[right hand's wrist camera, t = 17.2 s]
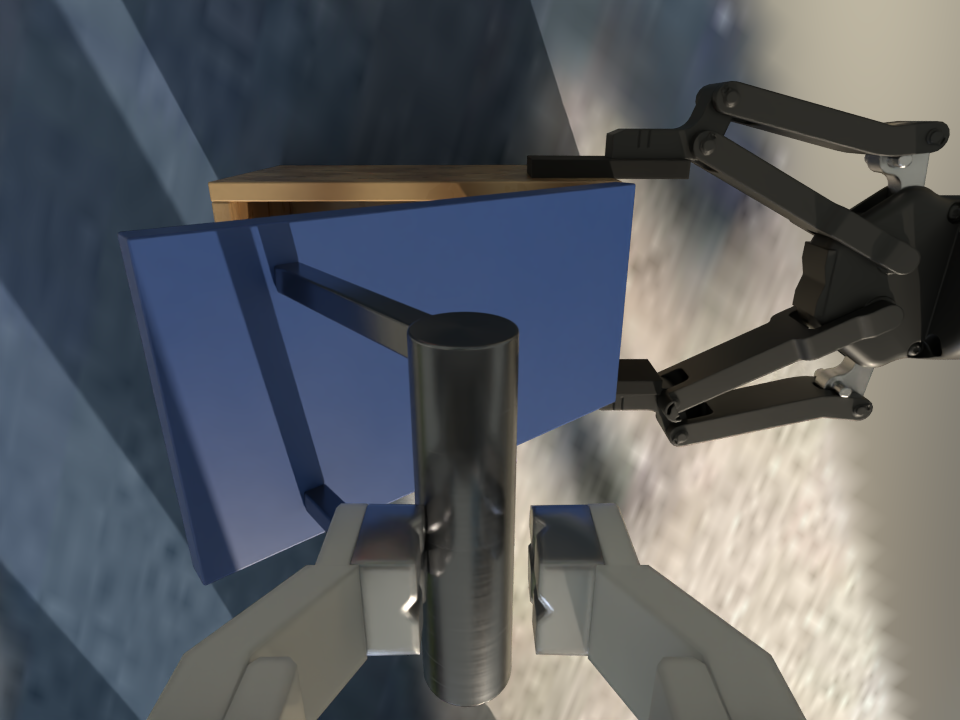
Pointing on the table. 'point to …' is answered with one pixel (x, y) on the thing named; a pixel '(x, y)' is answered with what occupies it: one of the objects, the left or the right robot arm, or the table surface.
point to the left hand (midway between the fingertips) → (526, 278)
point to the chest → (366, 187)
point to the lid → (383, 380)
